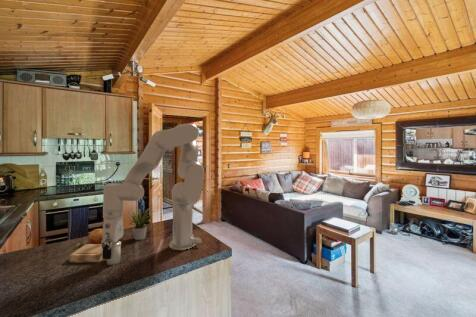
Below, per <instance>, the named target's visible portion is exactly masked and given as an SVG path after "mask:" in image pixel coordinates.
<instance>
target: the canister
mask: <svg viewBox="0 0 476 317" xmlns="http://www.w3.org/2000/svg"><path fill="white" fill-rule="evenodd" d="M106 244H107V245H108V246H109V243H106ZM110 249H111V259H106V264H107V265H108V266H113V265H117V264H119V263H121V258H122V256H121V254H122V253H121V252H122V251H121V249H122V240H121V241H117V242H115V243H113V242H112V245H111V248H110Z"/></svg>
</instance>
